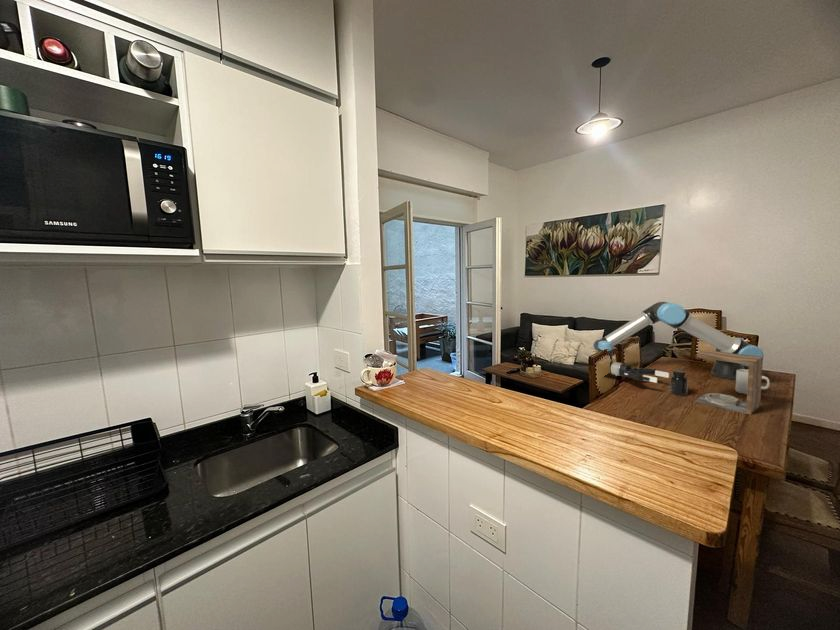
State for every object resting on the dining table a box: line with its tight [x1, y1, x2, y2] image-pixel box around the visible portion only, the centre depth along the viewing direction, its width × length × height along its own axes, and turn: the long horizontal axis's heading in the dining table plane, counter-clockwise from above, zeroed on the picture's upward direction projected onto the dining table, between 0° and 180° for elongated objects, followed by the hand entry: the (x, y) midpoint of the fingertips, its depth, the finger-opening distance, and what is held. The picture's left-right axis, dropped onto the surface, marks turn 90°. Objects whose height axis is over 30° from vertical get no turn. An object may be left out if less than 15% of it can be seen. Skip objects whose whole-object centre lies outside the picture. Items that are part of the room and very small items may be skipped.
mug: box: [735, 368, 771, 395], centre depth 165 cm, size 12×8×11 cm
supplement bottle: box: [670, 369, 689, 397], centre depth 168 cm, size 7×7×12 cm
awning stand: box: [694, 349, 764, 415], centre depth 152 cm, size 13×20×24 cm, turn 32°
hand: (663, 377), depth 174 cm, fingers open, 13 cm apart
